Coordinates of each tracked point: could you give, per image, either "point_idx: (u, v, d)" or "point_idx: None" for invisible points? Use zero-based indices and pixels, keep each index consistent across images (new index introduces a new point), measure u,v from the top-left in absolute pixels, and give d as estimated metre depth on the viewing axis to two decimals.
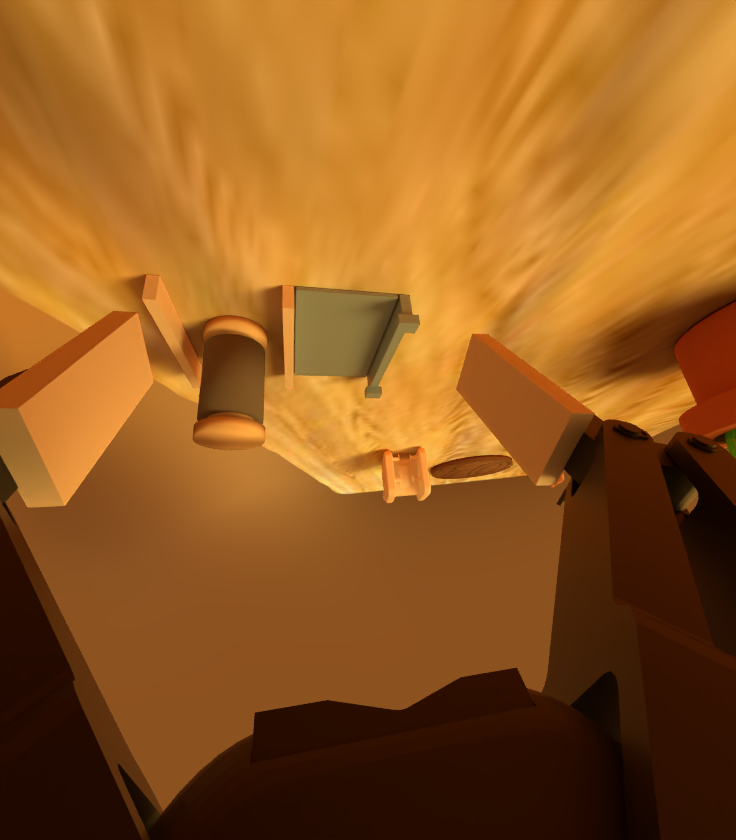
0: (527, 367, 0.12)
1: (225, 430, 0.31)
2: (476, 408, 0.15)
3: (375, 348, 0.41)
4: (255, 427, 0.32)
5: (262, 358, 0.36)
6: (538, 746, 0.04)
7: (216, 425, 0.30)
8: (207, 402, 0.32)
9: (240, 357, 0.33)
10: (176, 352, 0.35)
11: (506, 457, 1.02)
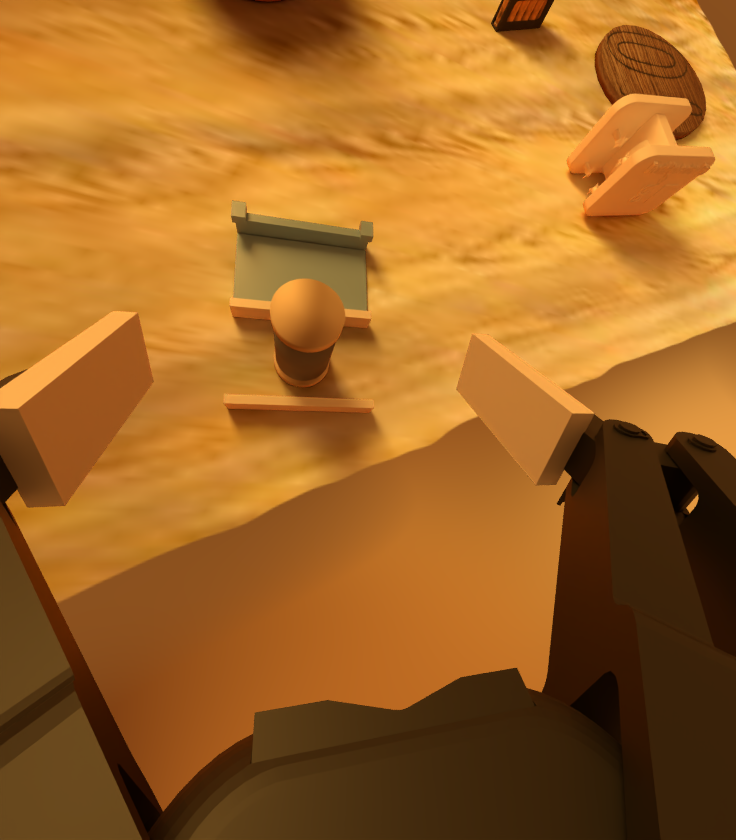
0: (527, 367, 0.12)
1: (274, 308, 0.29)
2: (477, 408, 0.15)
3: (311, 244, 0.44)
4: None
5: None
6: (538, 746, 0.04)
7: None
8: (279, 342, 0.32)
9: None
10: (301, 402, 0.38)
11: (599, 45, 0.67)
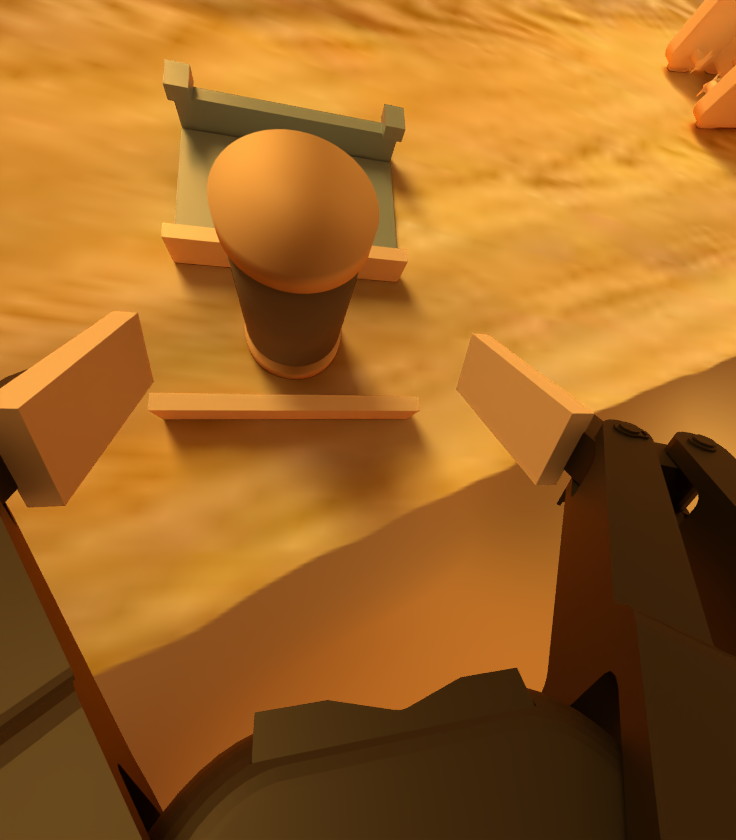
0: (527, 367, 0.12)
1: (217, 187, 0.13)
2: (477, 408, 0.15)
3: None
4: None
5: None
6: (538, 746, 0.04)
7: None
8: (238, 278, 0.15)
9: None
10: (294, 404, 0.21)
11: None
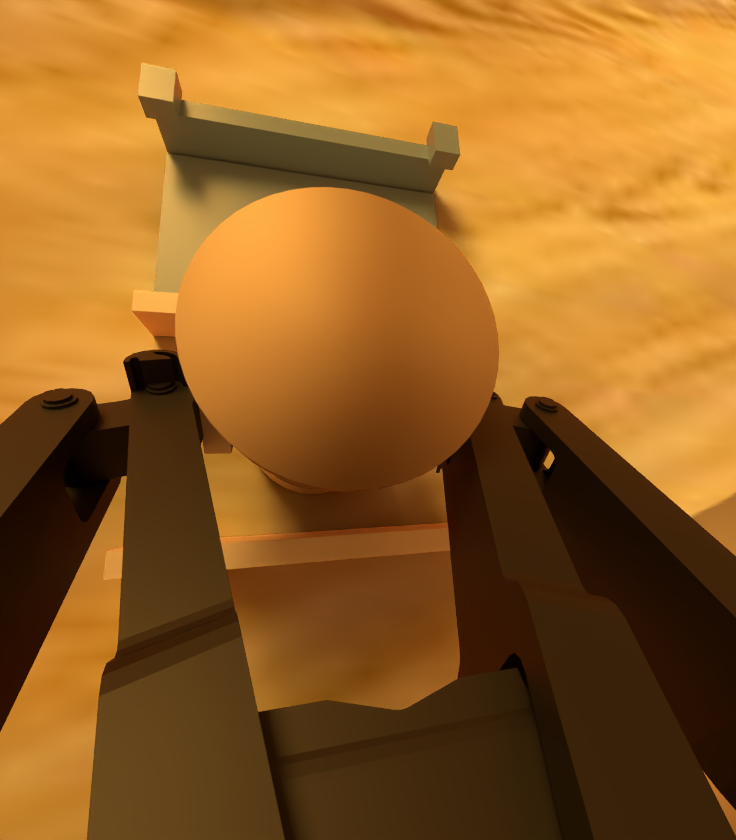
0: None
1: (196, 312, 0.06)
2: None
3: (326, 180, 0.21)
4: None
5: None
6: (538, 746, 0.04)
7: None
8: None
9: None
10: (318, 552, 0.15)
11: None
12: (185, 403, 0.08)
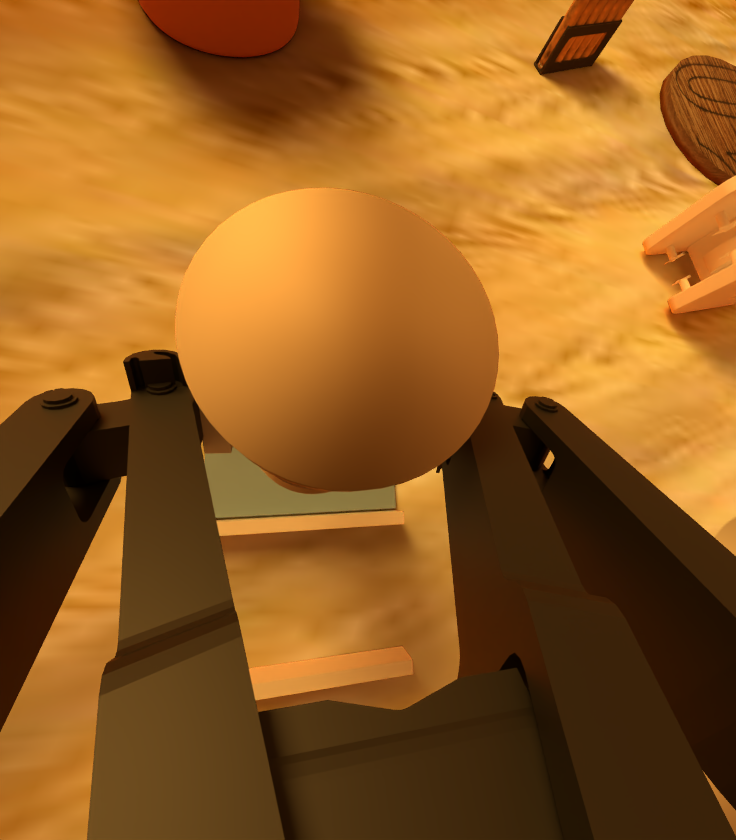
0: None
1: (196, 313, 0.06)
2: None
3: None
4: None
5: None
6: (538, 746, 0.04)
7: None
8: None
9: None
10: (305, 686, 0.25)
11: (664, 82, 0.54)
12: (185, 403, 0.08)
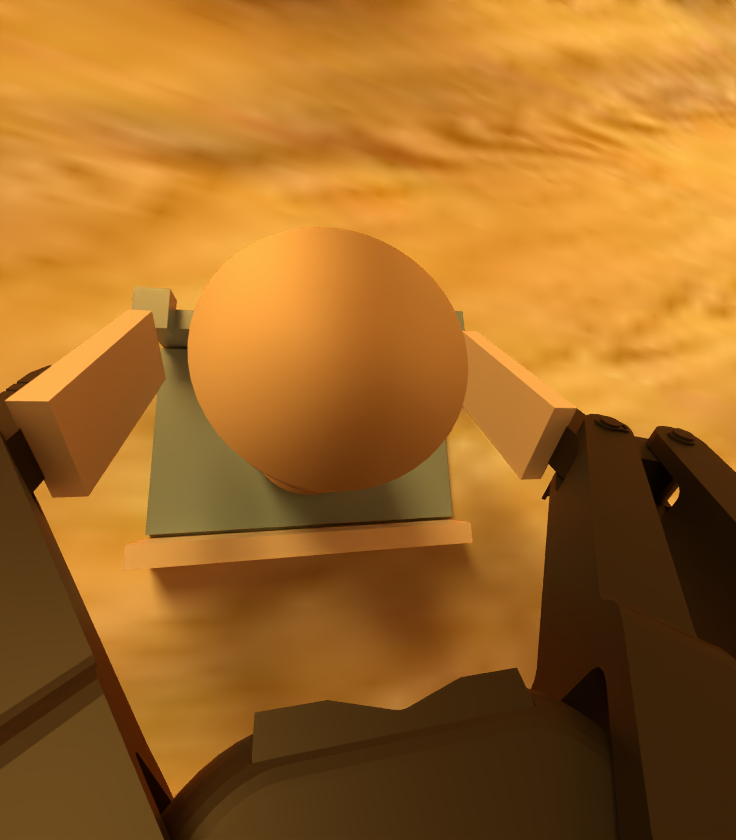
0: (513, 363, 0.12)
1: (205, 340, 0.07)
2: (466, 405, 0.15)
3: None
4: None
5: None
6: (538, 746, 0.04)
7: None
8: None
9: None
10: None
11: None
12: None
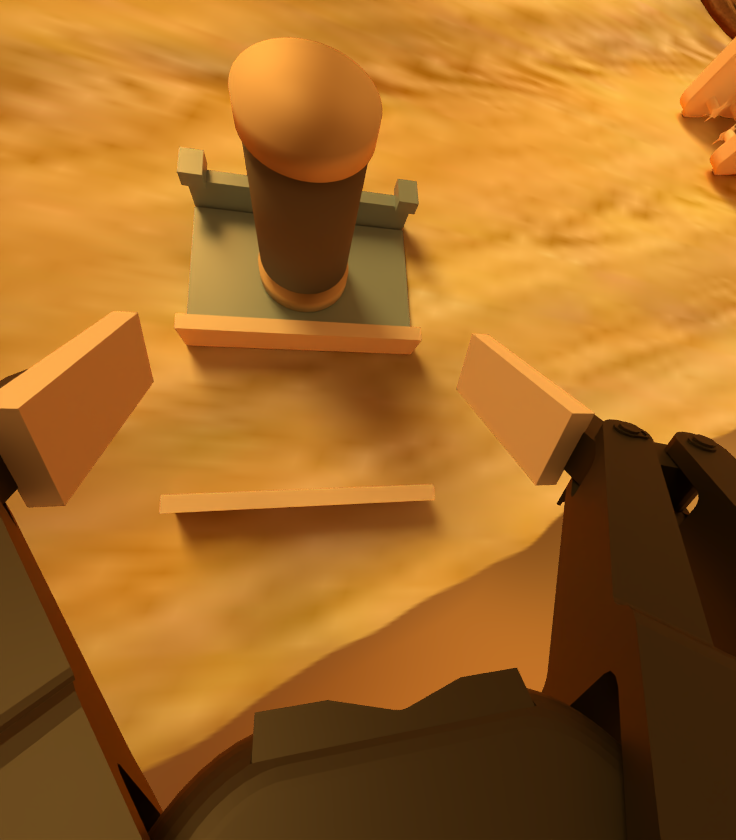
0: (527, 367, 0.12)
1: (237, 80, 0.14)
2: (477, 408, 0.15)
3: None
4: None
5: None
6: (538, 746, 0.04)
7: (231, 103, 0.14)
8: (254, 179, 0.17)
9: None
10: (307, 499, 0.21)
11: None
12: None
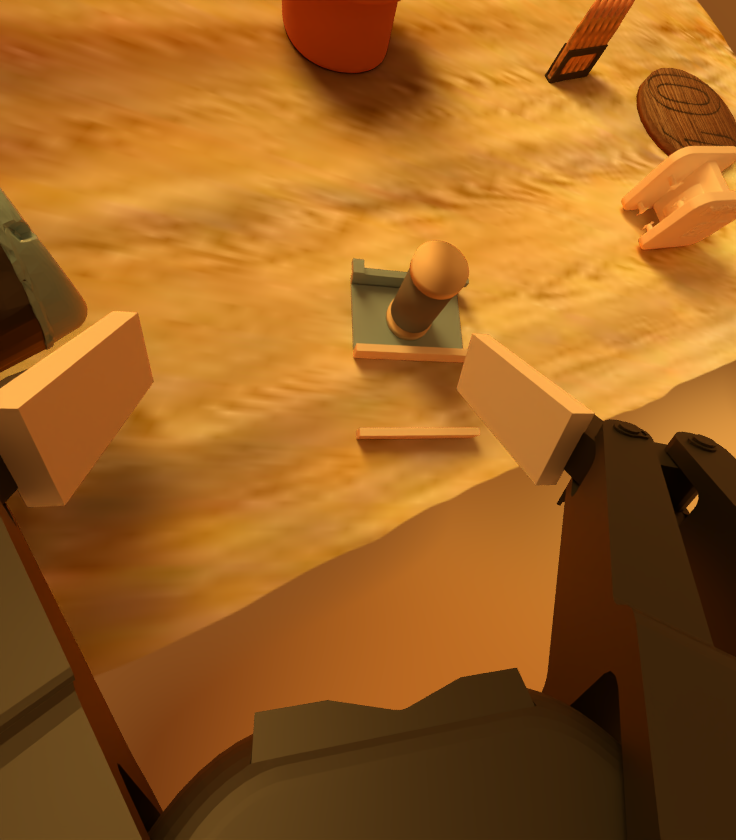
0: (527, 367, 0.12)
1: (416, 263, 0.37)
2: (477, 408, 0.15)
3: None
4: None
5: None
6: (538, 746, 0.04)
7: (412, 270, 0.37)
8: (411, 293, 0.40)
9: (397, 293, 0.44)
10: (421, 432, 0.44)
11: (640, 88, 0.73)
12: None
